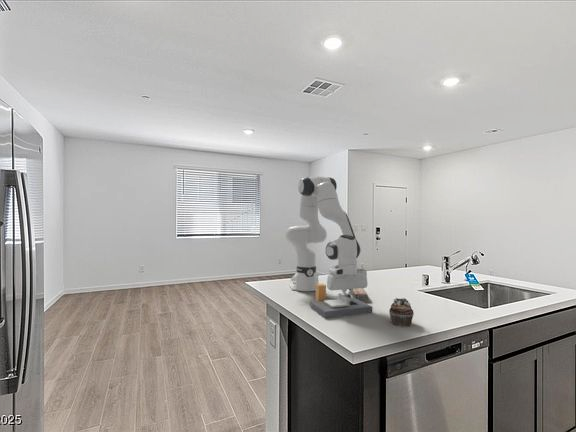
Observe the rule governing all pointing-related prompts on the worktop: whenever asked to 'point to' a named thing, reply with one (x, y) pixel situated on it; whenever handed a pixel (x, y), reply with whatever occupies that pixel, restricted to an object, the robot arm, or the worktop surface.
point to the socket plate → (341, 309)
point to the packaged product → (360, 295)
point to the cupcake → (401, 313)
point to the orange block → (320, 292)
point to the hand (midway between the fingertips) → (347, 298)
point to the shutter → (339, 301)
